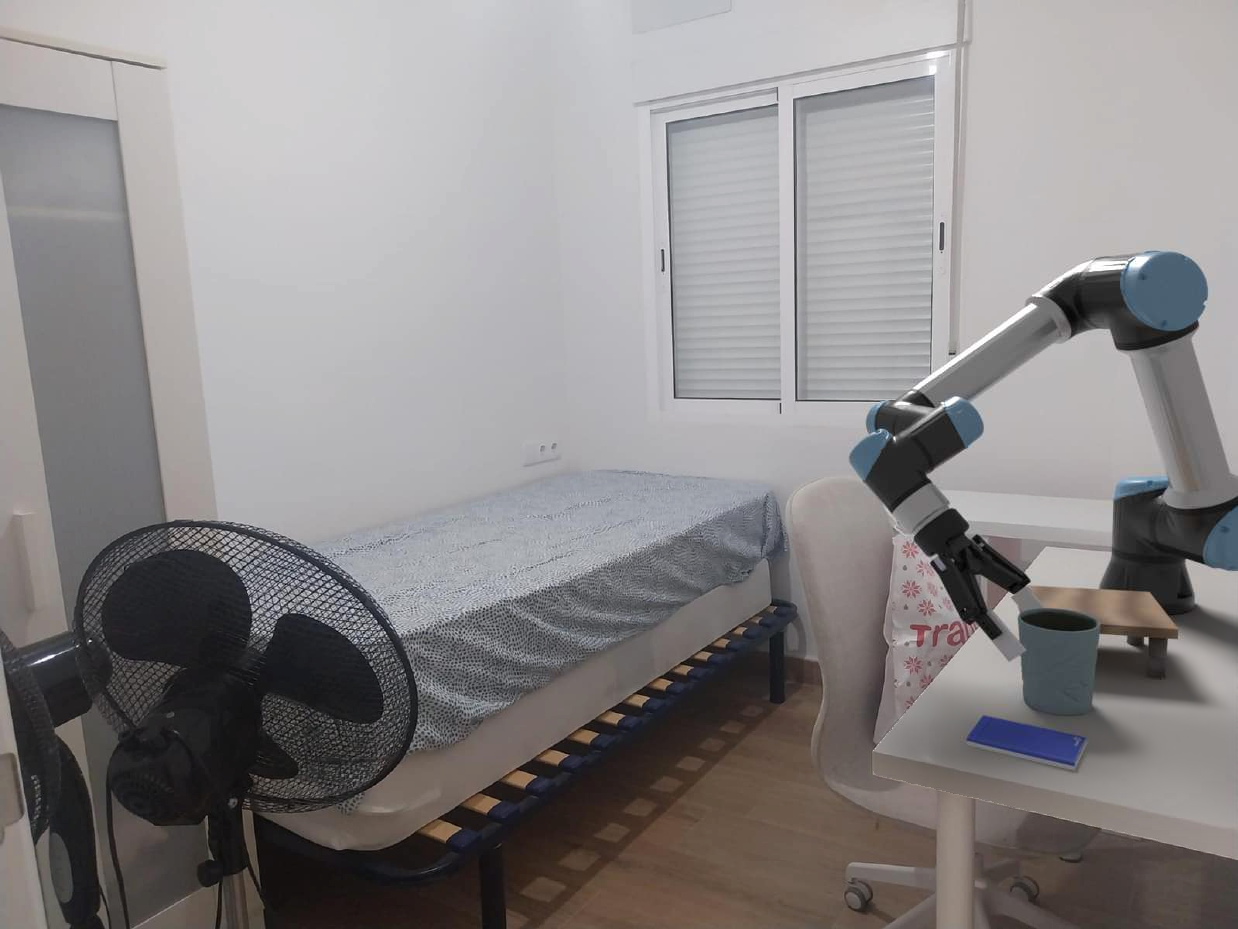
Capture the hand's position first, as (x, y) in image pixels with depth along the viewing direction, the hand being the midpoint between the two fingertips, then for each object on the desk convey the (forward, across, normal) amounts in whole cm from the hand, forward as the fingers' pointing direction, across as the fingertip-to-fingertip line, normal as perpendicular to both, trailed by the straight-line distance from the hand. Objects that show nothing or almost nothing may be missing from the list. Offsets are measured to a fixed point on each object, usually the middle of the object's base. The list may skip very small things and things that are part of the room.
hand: (1035, 641), depth 125 cm
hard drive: (+9, +14, -4) cm, 17 cm away
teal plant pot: (+8, -1, -4) cm, 9 cm away
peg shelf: (+7, -22, -5) cm, 23 cm away
